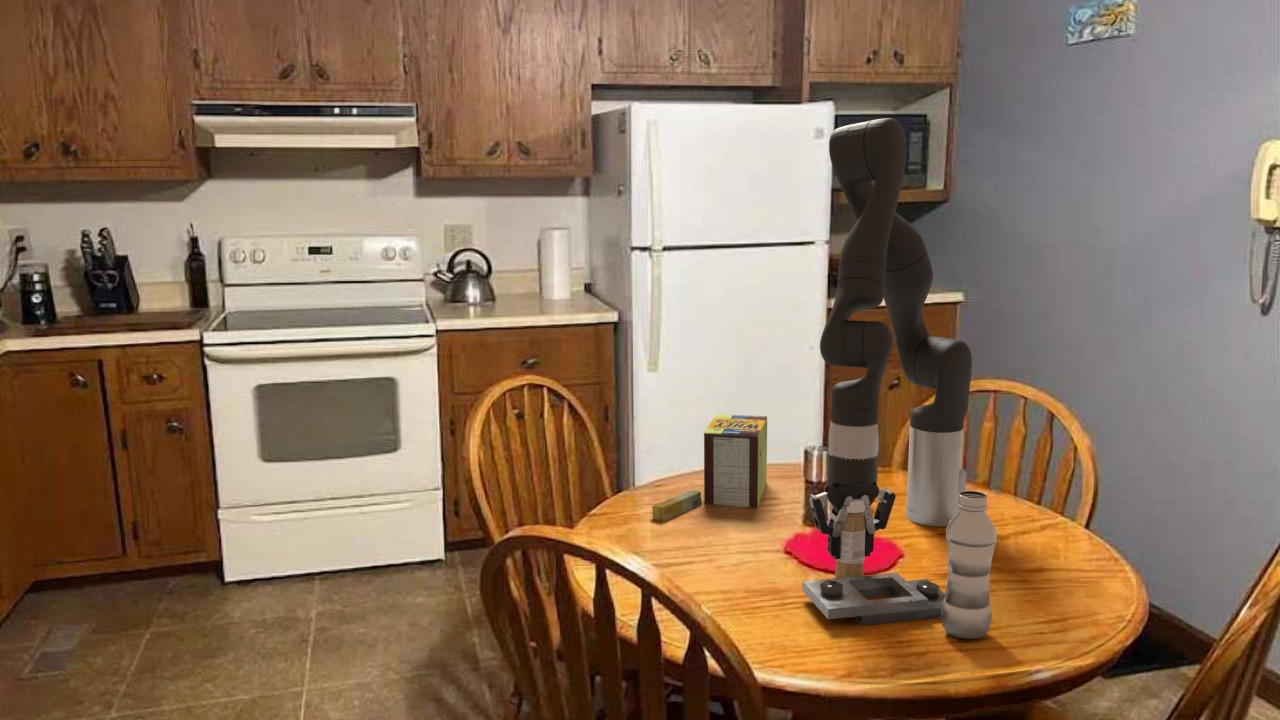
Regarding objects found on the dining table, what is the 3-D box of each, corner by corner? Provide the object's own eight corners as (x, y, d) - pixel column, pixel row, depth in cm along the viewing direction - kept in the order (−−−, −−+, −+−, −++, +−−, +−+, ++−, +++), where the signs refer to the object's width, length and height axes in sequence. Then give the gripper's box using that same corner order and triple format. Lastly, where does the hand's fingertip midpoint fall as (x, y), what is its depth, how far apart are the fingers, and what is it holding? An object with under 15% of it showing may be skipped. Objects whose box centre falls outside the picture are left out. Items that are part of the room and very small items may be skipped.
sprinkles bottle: (856, 572, 159) (859, 490, 156) (869, 583, 154) (872, 499, 152) (829, 574, 158) (831, 493, 155) (841, 586, 154) (844, 502, 151)
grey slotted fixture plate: (896, 581, 151) (897, 565, 151) (927, 609, 141) (928, 591, 141) (802, 590, 148) (802, 573, 148) (828, 619, 139) (828, 601, 138)
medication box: (691, 510, 190) (690, 490, 189) (703, 512, 188) (701, 491, 188) (652, 526, 181) (651, 505, 180) (664, 528, 179) (662, 506, 178)
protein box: (766, 490, 201) (768, 415, 198) (758, 515, 186) (759, 434, 183) (715, 487, 203) (715, 413, 200) (702, 511, 188) (702, 432, 186)
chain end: (926, 588, 152) (927, 571, 152) (959, 615, 143) (960, 598, 142) (833, 597, 149) (834, 580, 149) (861, 625, 140) (862, 607, 139)
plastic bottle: (932, 625, 140) (938, 488, 136) (979, 623, 140) (986, 486, 137) (950, 646, 134) (957, 503, 130) (999, 644, 134) (1007, 501, 130)
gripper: (886, 441, 157) (882, 544, 161) (800, 446, 155) (798, 551, 158) (907, 453, 150) (903, 561, 153) (818, 459, 147) (815, 569, 151)
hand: (850, 555), depth 156 cm, fingers closed on sprinkles bottle, 4 cm apart
